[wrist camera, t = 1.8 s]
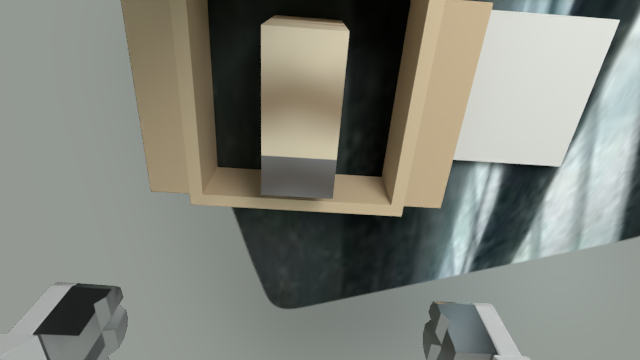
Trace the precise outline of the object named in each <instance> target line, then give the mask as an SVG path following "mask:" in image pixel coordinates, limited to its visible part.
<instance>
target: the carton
mask: <svg viewBox="0 0 640 360" xmlns="http://www.w3.org/2000/svg"><path fill="white" fill-rule="evenodd" d="M121 5H122V12H123V18H124V24H125V30H126V37H127V43H128V49H129V56H130V62H131V69H132V75H133V81H134V88H135V93H136V100H137V105H138V113H139V119H140V125H141V132H142V138H143V144H144V151H145V156H146V163H147V170H148V175H149V182H150V189H151V192H169V193H186V194H190V202H191V205H207V206H208V205H209V206H225V207H226V206H227V207H242V208H260V209H278V210H295V211H313V212H331V213H348V214H366V215H384V216H402V212H403V207H404V206H412V207H429V208H441V204H442V200H443V196H444V192H445V189H446V185H447V181H448V177H449V173H450V169H451V165H452V161H453V157H454V154H455V150H456V146H457V142H458V138H459V134H460V130H461V126H462V123H463V119H464V115H465V111H466V107H467V103H468V99H469V95H470V91H471V88H472V84H473V80H474V76H475V72H476V68H477V64H478V60H479V57H480V53H481V49H482V45H483V41H484V37H485V33H486V29H487V25H488V22H489V18H490V14H491V10H492V6H493V3H490V2H477V1H465V0H411V3H410V9H409V15H408V21H407V27H406V33H405V39H404V45H403V51H402V57H401V64H400V70H399V76H398V82H397V88H396V94H395V100H394V106H393V112H392V118H391V124H390V130H389V136H388V142H387V148H386V154H385V160H384V166H383V173H382V177H373V176H357V175H340V174H335V182H334V192H333V199H326V198H308V197H291V196H274V195H261V170H258V169H241V168H225V167H218V166H217V149H216V133H215V117H214V101H213V84H212V68H211V52H210V36H209V20H208V3H207V0H121Z"/></svg>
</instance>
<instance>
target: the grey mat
mask: <svg viewBox="0 0 640 360" xmlns="http://www.w3.org/2000/svg"><path fill="white" fill-rule="evenodd" d="M619 21H620V20H614V19H602V18H590V17H577V16H564V15H552V14H539V13H526V12H513V11H501V10H491V14H490V18H489V22H488V25H487V29H486V33H485V37H484V41H483V45H482V49H481V53H480V57H479V60H478V64H477V68H476V72H475V76H474V80H473V84H472V88H471V91H470V95H469V99H468V103H467V107H466V111H465V115H464V119H463V123H462V126H461V130H460V134H459V138H458V142H457V146H456V150H455V154H454V157H453V160H464V161H480V162H496V163H512V164H528V165H544V166H561V164H562V162H563V159H564V157H565V154H566V152H567V149H568V147H569V144H570V142H571V139H572V137H573V134H574V132H575V130H576V127H577V125H578V122H579V120H580V117H581V115H582V112H583V110H584V107H585V105H586V103H587V100H588V98H589V95H590V93H591V90H592V88H593V85H594V83H595V80H596V78H597V75H598V73H599V71H600V68H601V66H602V63H603V61H604V58H605V56H606V53H607V51H608V48H609V46H610V44H611V41H612V39H613V36H614V34H615V31H616V29H617V26H618V24H619Z"/></svg>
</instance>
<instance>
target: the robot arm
mask: <svg viewBox="0 0 640 360" xmlns="http://www.w3.org/2000/svg"><path fill="white" fill-rule="evenodd" d="M122 299H123V295H122V291H121V288H120V287H117V286H106V285H94V284H80V283H78V284H74V283H61V282H58V283H55V284H53V285H51V286H50V287H49V288H48V289H47V290H46V291H45V293H44V294H43V295H42V296H41V297H40V298H39V299H38V300H37V301H36V303H35V304H34V305H33V306H32V307H31V308H30V309H29V310H28V311H27V312H26V314H25V315H24V316H23V317H22V318H21V319H20V320H19V321H18V322H17V324H16V325H15V326H14V327H13V328H12V329H11V330H10V331H9V333H7V334H0V360H109V358H108V355H110V354H111V353H113V352H114V351H115V350H117V349H118V348H119V347H120V345H121V343H122V341H123V339H124V336H125V333H126V329H127V322H128V317H127V312H126V310H125V309H124V308H123V307H122V306H121V305H120V302H121V300H122ZM429 315H430V318H431V320H430V321H429V322H427V323H426V324H425V327H424V332H423V348H424V353H425V357H426V360H531V359H530V358H528V357H522V356H521V354H520V353H519V351H518V349H517V347H516V345H515V344H514V342H513V340H512V338H511V337H510V335H509V333H508V331H507V330H506V328H505V326H504V324H503V322H502V321H501V319H500V317H499V315H498V314H497V312H496V310H495V308H494V307H493V306H492V305H491V304H489V303H461V302H459V303H458V302H434V301H433V303H432V304H431V306H430V309H429Z"/></svg>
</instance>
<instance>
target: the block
mask: <svg viewBox="0 0 640 360" xmlns="http://www.w3.org/2000/svg"><path fill="white" fill-rule="evenodd" d="M349 32H350V31H349V30H348V29H347V27H346V26H345V24H344V23H343V22H342V20H334V19H321V18H308V17H295V16H281V15H274V16H273V17H272V18H270V19H269V20H267V21H266V22H264V23H263V24H261V195H274V196H291V197H308V198H326V199H333V192H334V182H335V172H336V162H337V152H338V142H339V132H340V122H341V112H342V102H343V92H344V82H345V72H346V62H347V52H348V42H349Z"/></svg>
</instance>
